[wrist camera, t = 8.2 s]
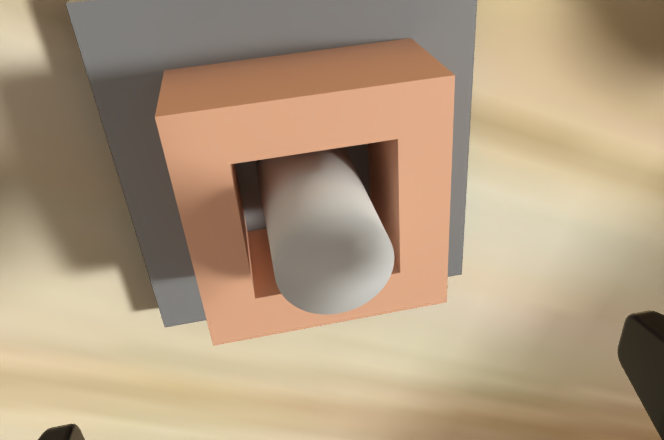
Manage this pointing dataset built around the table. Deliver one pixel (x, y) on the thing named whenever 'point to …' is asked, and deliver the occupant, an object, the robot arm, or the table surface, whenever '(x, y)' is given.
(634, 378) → the robot arm
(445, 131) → the ring
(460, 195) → the post plate
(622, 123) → the table surface
